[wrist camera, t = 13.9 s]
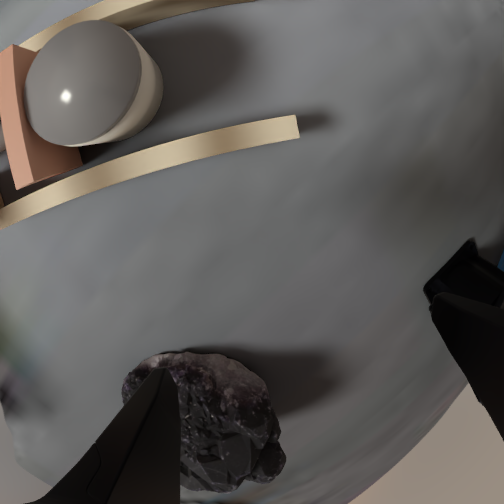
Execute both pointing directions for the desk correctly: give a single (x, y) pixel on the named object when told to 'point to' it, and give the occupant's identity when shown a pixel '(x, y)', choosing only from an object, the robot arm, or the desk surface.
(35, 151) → the pusher
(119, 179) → the lane
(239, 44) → the desk surface
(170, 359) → the dark rock
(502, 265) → the perfume bottle
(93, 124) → the jar
